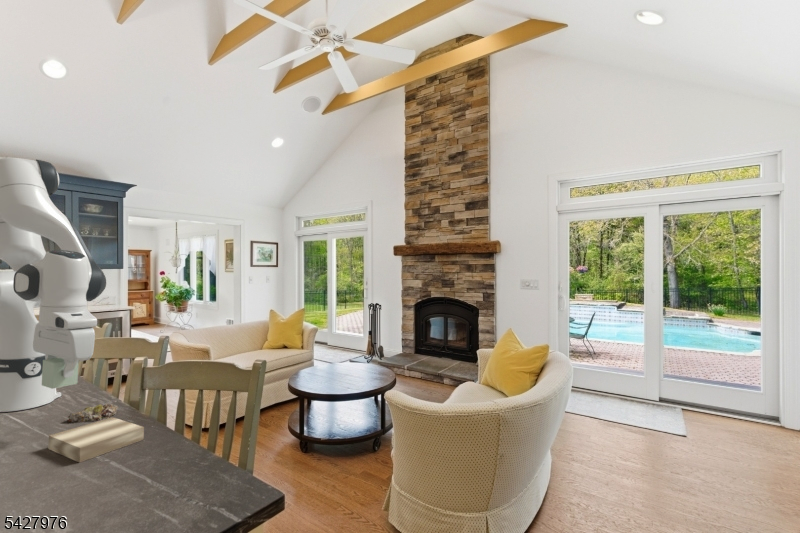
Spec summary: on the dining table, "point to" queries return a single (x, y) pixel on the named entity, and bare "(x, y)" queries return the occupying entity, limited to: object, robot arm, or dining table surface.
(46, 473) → the dining table surface
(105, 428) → the birch plinth
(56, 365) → the sage block
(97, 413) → the mineral rock
